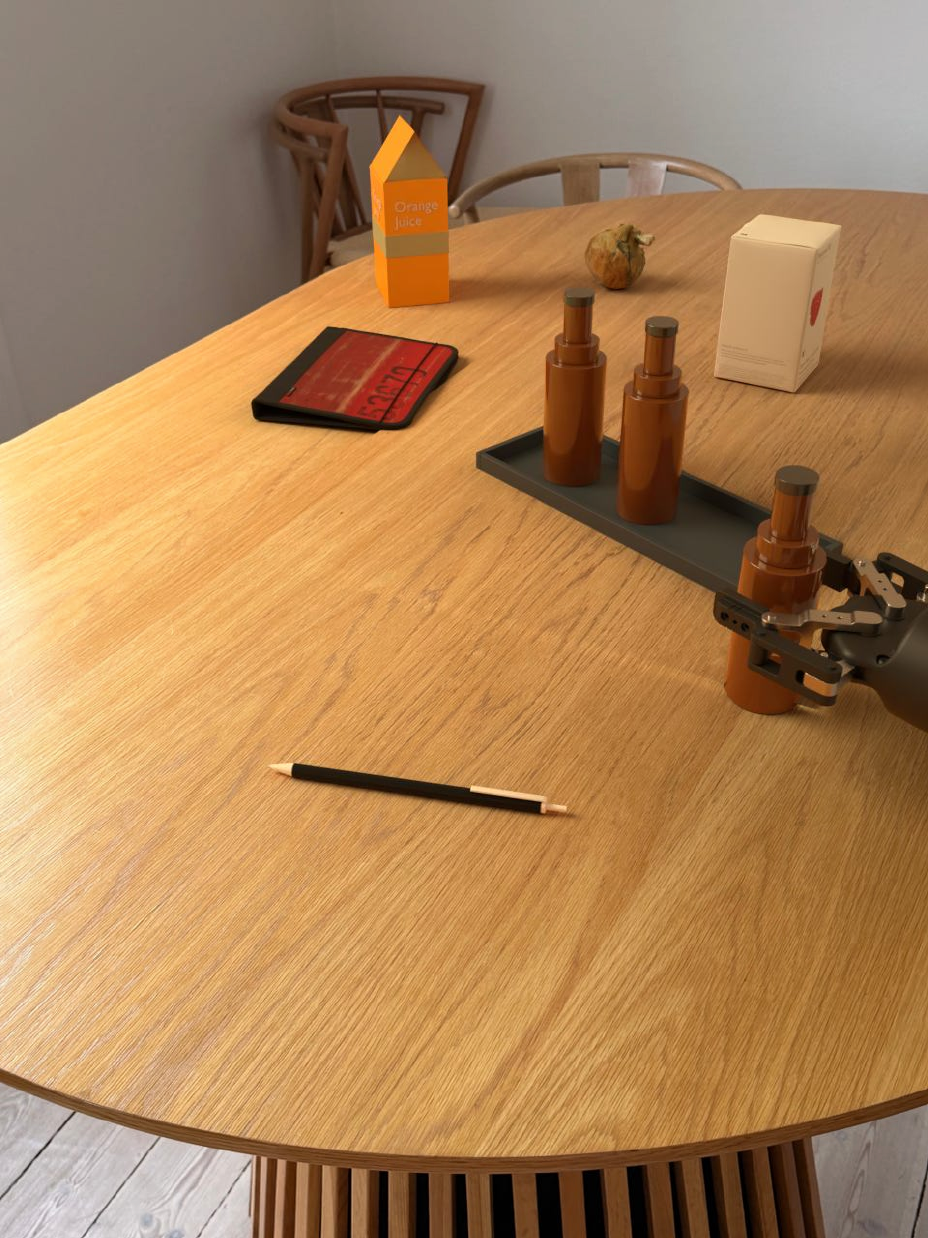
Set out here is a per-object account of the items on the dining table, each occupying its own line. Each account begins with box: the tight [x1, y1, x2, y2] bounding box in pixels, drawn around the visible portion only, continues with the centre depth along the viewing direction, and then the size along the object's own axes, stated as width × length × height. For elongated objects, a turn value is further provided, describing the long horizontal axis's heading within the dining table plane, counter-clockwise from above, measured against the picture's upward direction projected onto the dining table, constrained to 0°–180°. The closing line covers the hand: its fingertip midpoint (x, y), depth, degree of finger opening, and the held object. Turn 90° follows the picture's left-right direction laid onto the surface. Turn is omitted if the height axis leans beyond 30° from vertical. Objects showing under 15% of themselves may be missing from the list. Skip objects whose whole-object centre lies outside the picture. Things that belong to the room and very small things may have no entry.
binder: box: [250, 325, 460, 431], centre depth 126 cm, size 16×2×21 cm
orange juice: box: [368, 115, 450, 309], centre depth 144 cm, size 8×9×20 cm
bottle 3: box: [723, 464, 827, 715], centre depth 79 cm, size 5×5×17 cm
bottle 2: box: [615, 315, 690, 525], centre depth 98 cm, size 5×5×17 cm
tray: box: [475, 425, 844, 594], centre depth 103 cm, size 31×11×2 cm, turn 41°
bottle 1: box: [542, 286, 608, 487], centre depth 104 cm, size 5×5×17 cm
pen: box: [267, 762, 568, 814], centre depth 75 cm, size 1×19×1 cm, turn 77°
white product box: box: [713, 213, 842, 393], centre depth 124 cm, size 9×9×15 cm
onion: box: [583, 222, 656, 290], centre depth 149 cm, size 8×8×8 cm
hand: (759, 577), depth 79 cm, fingers open, 8 cm apart
